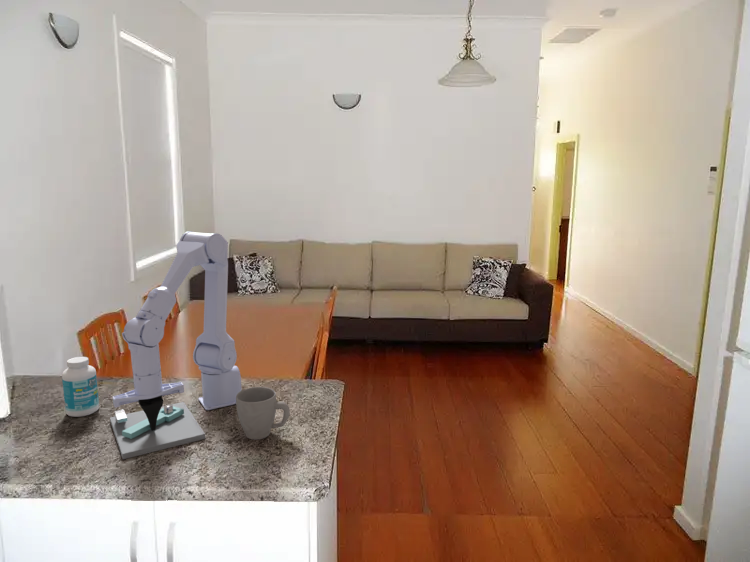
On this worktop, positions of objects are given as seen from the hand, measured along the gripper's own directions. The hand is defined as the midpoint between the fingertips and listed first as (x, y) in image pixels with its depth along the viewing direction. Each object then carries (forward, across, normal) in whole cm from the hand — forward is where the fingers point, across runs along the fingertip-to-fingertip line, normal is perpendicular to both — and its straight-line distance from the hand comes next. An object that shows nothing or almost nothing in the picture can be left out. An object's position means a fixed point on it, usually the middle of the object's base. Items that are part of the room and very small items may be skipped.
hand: (152, 428), depth 124 cm
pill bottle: (+2, +12, -23) cm, 26 cm away
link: (0, -1, -3) cm, 3 cm away
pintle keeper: (+2, 0, -7) cm, 7 cm away
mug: (+2, -21, +13) cm, 25 cm away
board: (+2, -1, -3) cm, 4 cm away
